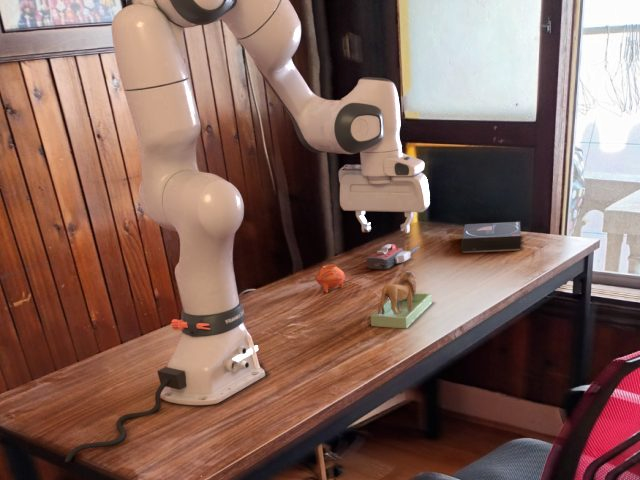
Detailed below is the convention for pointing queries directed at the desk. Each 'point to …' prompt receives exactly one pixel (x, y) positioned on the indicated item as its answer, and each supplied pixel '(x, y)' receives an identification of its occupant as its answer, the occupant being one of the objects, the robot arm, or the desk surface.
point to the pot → (330, 277)
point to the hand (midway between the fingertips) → (385, 232)
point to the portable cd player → (491, 237)
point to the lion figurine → (399, 293)
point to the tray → (404, 318)
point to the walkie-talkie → (389, 257)
